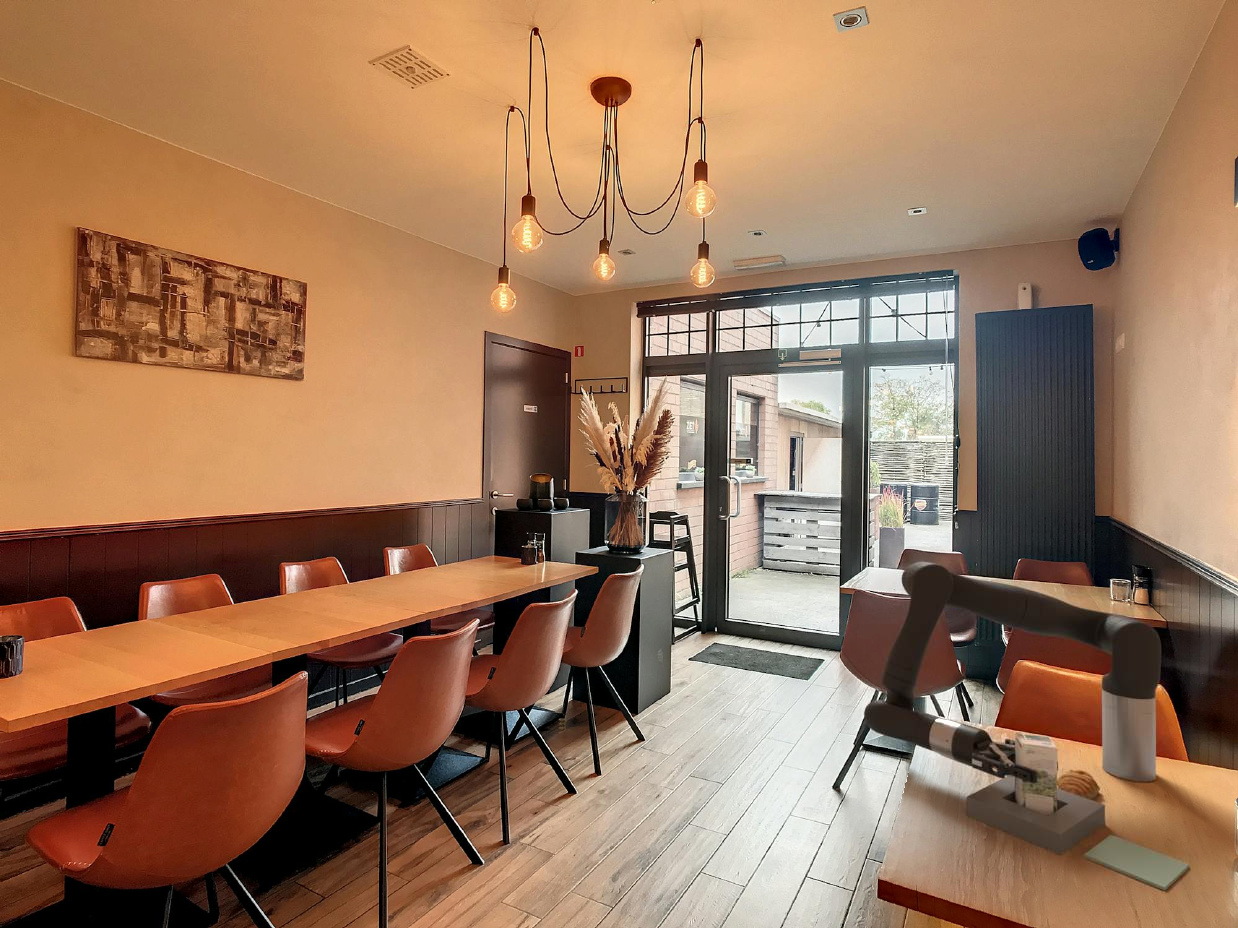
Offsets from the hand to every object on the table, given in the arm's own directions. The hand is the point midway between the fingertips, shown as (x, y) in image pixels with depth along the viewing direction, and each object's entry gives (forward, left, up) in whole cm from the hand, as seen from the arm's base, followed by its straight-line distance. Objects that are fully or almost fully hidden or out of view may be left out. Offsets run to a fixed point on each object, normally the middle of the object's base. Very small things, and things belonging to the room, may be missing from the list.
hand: (1047, 771), depth 124 cm
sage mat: (+1, +14, -10) cm, 17 cm away
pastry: (-19, -2, -10) cm, 21 cm away
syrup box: (0, -2, -9) cm, 9 cm away
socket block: (0, -2, -10) cm, 10 cm away
